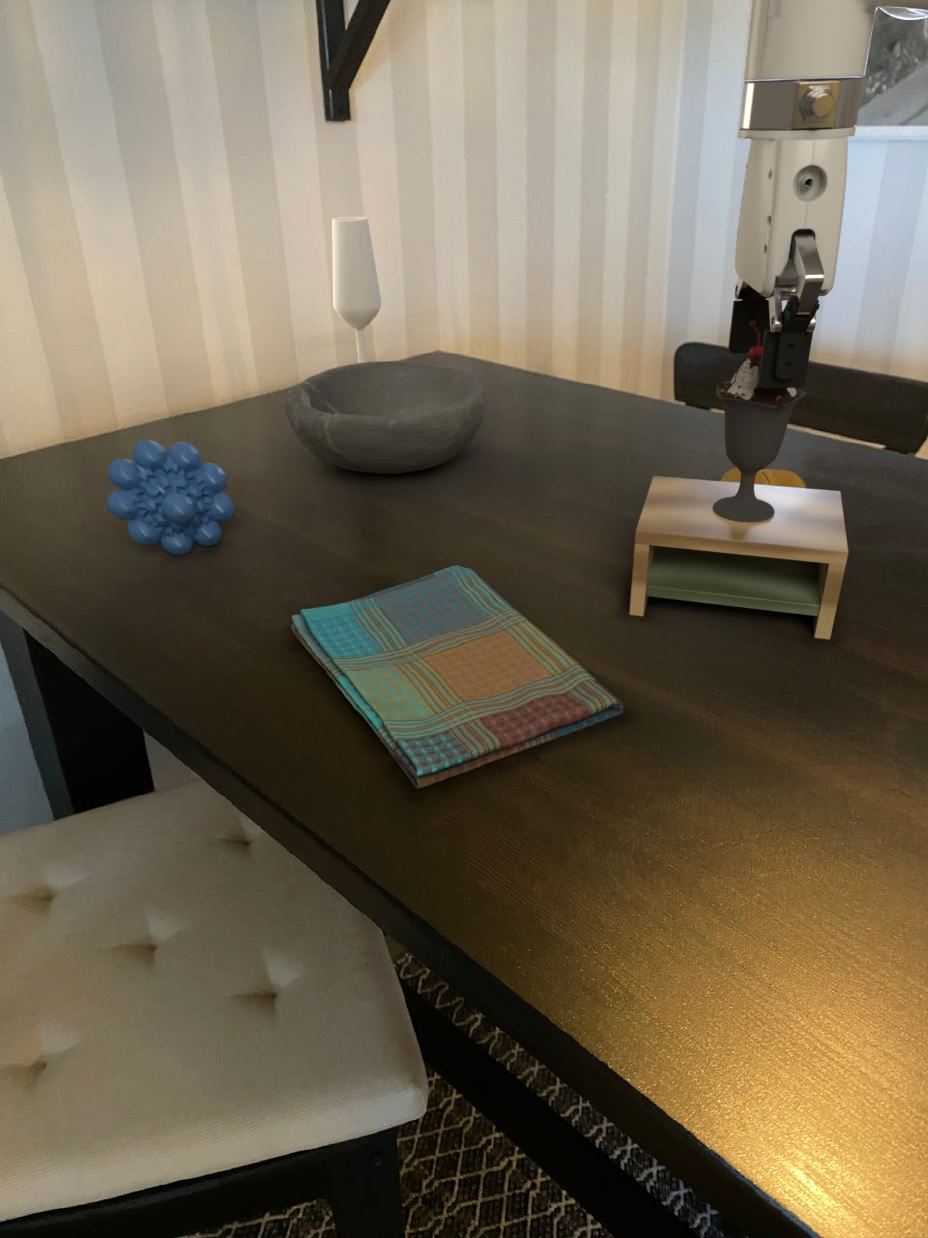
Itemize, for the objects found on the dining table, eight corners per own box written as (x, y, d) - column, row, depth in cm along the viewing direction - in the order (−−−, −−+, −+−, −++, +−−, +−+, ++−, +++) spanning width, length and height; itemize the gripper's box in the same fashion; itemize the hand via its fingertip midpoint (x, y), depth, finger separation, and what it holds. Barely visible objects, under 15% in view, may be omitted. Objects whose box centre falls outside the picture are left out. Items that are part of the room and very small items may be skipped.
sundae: (719, 488, 79) (741, 311, 71) (795, 504, 76) (828, 321, 68) (688, 515, 74) (708, 329, 67) (768, 533, 71) (799, 340, 63)
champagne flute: (369, 405, 128) (353, 223, 116) (332, 398, 131) (314, 220, 119) (397, 393, 133) (385, 216, 121) (361, 386, 136) (346, 214, 124)
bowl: (449, 513, 95) (445, 421, 90) (262, 492, 102) (248, 405, 97) (510, 440, 114) (510, 361, 109) (348, 426, 121) (341, 351, 115)
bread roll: (813, 520, 91) (820, 483, 89) (724, 520, 92) (728, 484, 90) (793, 488, 98) (799, 453, 96) (710, 489, 99) (714, 454, 97)
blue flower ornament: (131, 587, 83) (101, 464, 77) (117, 558, 88) (88, 441, 82) (253, 557, 88) (234, 439, 82) (233, 531, 93) (214, 418, 87)
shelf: (829, 641, 72) (848, 551, 68) (629, 616, 76) (635, 530, 72) (824, 572, 82) (840, 490, 78) (646, 554, 86) (653, 475, 82)
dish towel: (469, 582, 82) (468, 557, 81) (628, 715, 64) (631, 686, 63) (290, 634, 75) (286, 608, 74) (412, 799, 57) (410, 769, 56)
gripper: (906, 113, 53) (851, 401, 61) (816, 106, 67) (782, 339, 76) (775, 118, 53) (739, 404, 62) (715, 110, 68) (693, 341, 76)
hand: (763, 368), depth 69 cm, fingers open, 9 cm apart
